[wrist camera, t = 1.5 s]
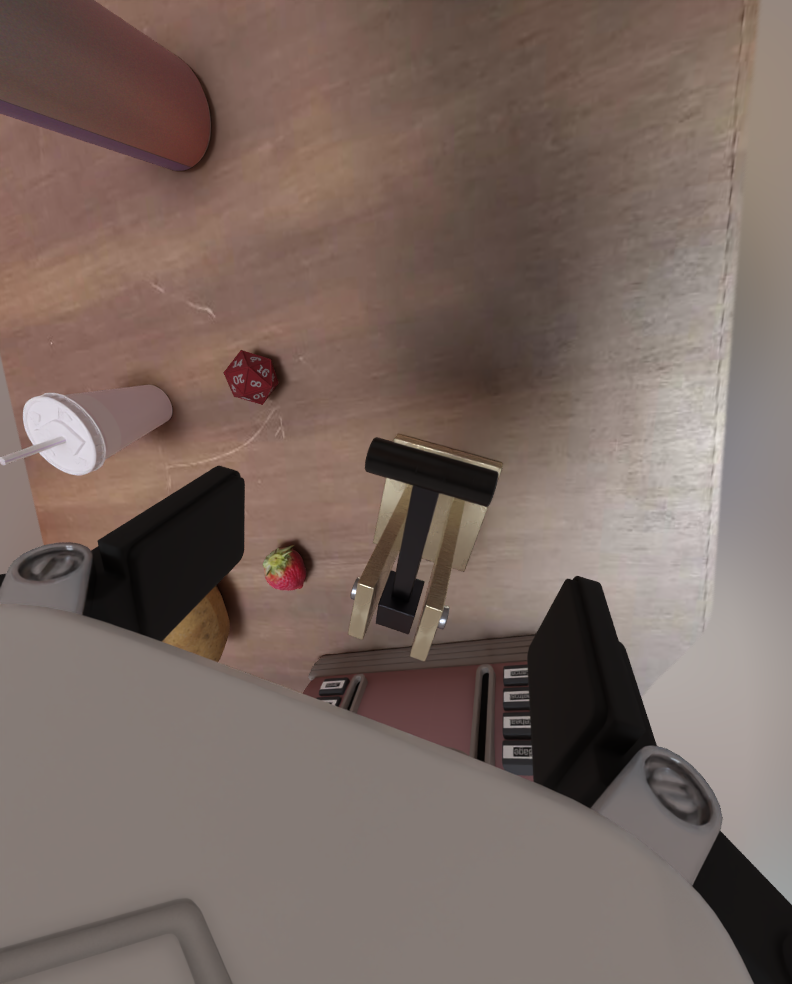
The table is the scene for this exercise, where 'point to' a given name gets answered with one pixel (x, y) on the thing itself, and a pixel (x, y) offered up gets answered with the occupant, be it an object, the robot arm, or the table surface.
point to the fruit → (285, 569)
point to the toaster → (441, 696)
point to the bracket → (443, 546)
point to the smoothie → (90, 425)
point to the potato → (203, 628)
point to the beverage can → (100, 82)
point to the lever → (420, 515)
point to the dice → (251, 377)
